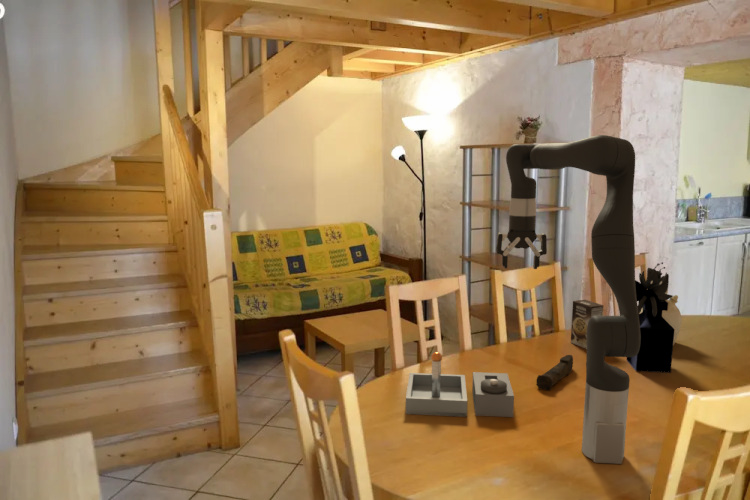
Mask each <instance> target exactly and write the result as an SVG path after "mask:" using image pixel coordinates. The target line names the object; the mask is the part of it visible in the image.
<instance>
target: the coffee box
mask: <svg viewBox="0 0 750 500" xmlns="http://www.w3.org/2000/svg"><path fill="white" fill-rule="evenodd" d="M571 315H572V316H571V329H570V330H571V333H570V343H571V344H573V345H576V346H578V347H581V348H583V349H586V350H587V325H588V321H589V319H590V318H591V317H592V316H596V315H603V316H604V305H603V304H601V303H597V302H594V301H591V300H587V299H579V300H578V299H576V300H572V314H571Z"/></svg>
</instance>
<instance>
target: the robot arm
mask: <svg viewBox="0 0 750 500" xmlns="http://www.w3.org/2000/svg"><path fill="white" fill-rule="evenodd" d="M505 155H506V156H505V161H506V166H507V170H508V175H509V180H510V184H511V186H510V203H509V210H508V213H509V215H508V216H509V217H508V232H507V233H501V232H498V233H497V238H496V249H495V251H496V254H499V255H501V265H502V267H503V268H504V269H508V262H509V261H508V260H509V259H508V254H509V253H510V252H511V251H512V250H513V249H514V248H515V249H529V248H530V250H531V251H532V252H533V254H534V255H533V270H537V269H538V268H539V267H540V261H541V260H540V258H541V256H543V255H544V256H545V255H547V253H548V251H547V250H548V248H547V242H548V241H547V235H546V233H539V234H538V233H537V232H536V224H537V222H536V221H537V219H536V218H537V199H536V197H537V181H536V179H535V178H533V177H529V176H527V175H526V173H525V170H536V169H540V170H550V171H551V170H557V171H558V170H562V169H566V168H575V169H578V170H582V171H584V172H589V173H591V174H594V175H598V176H604V177H605V179H606V195H605V197H606V198H605V201H604V203H603V204H604V205H603V206H602V208H601V210H600V211H599V213H598V215H597V217H596V219H595V220H594V224H593V225H592V228H591V233H590V235H591V236H590V238H591V258H592V261H593V264H594V266H595V267H596V269H597V270H598V272H599V273H600V275H601V277H602V278H603V279H604V281H605V282H606V283H607V284H608V286H609V287H610V289H611V290H612V293H613V295H614V297H615V300H616V302H617V306H618V307H617V308H618V313H619V315H604V314H603V315H596V316H592V317H591V318H590V319H589V321H588V325H587V349H586V362H585V363H586V366H585V367H586V369H585V370H586V371H585V372H586V373H585V374H586V375H585V389H584V390H585V391H584V392H585V393H584V404H583V421H582V437H581V438H582V440H581V453H582V454H583V455H584V456H585V457H587V458H589V459H590V460H592V462H593V463H598V464H599V463H601V464H618V465H622V464H623V460H624V458H625V446H626V432H627V431H626V430H627V418H628V406H629V405H628V403H629V389H630V375H629V374H628V373H627V371H625V370H623V369H621V368H620V367H617V366H615V365H611V364H609V363H608V362H606V361H605V357H609V358H610V357H611V358H615V357H616V358H627V357H634V356H636V355H637V354H638V352H639V349H640V343H641V333H640V323H639V314H638V301H637V298H636V287H635V280H636V259H635V258H636V254H635V253H636V252H635V251H636V250H635V248H636V247H635V229H634V228H635V227H634V185H635V184H634V183H635V172H636V171H635V170H636V151H635V148H634V146H633V144H632V143H631V142H630V141H629V140H627V139H624V138H620V137H615V136H611V135H606V134H605V135H604V134H599V135H594V136H593V135H592V136H589V137H587V138H583V139H580V140H575V141H570V142H545V143H540V144H538V143H537V144H536V143H534V144H533V143H530V144H529V143H516V144H515V143H514V144H512V145H510V147H509V148H508V150H507V151H506V154H505ZM506 238H507V240H508V241H509V243H508V244H507V245H506V246H505V248H504V249H502V244H503V242H504V241H505V240H506ZM536 239H538V241H539V242H540V250H538V249H537V248H536V246H535V245H534V242H535V241H536Z"/></svg>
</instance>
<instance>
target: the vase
mask: <svg viewBox="0 0 750 500" xmlns="http://www.w3.org/2000/svg"><path fill="white" fill-rule="evenodd" d="M663 264H664V262H660V263H657V264H656V265H655V266H654V268H651V267H647V271H646V275H645V270H642V272H639V273H638V274H639V275H638V278H639V281H638V280H636V279H635V287H636V298H637V306H638V314H639V313H640V312H641V309H642V308H643V312H642V313H640V314H639V323H640V333H641V343H640V349H639V352H638V354H637V355H636V356H634V357H626V362H628V364H629V365H630V366H631V367H632V368H633V370H634V371H635V372H646V373H647V372H649V373H672V365H673V364H672V363H673V362H672V360H673V351H674V345H673V341H674V328H673V327H672V326H671V325H670V324H669V323H668V322H667V321H666V320H665V319H664V318H663V317H662V310H664V311H668V302H666V301H665V300H670V298H671V297H673V296H674V295H672V294H668V293H667V294H665V293H666V291H667V289H668V290H669V282H670V281H669V280H670V279H669V278H670V275H669V273H668V272H665V274H664V275H663V273H662V271H661V270H662V269H664V270H665V269H666V267H665V266H663V267H662V268H660V269H659V270H656V268H657V267H658V266H660V265H663ZM645 276H646V278H645ZM661 277H662V278H661Z"/></svg>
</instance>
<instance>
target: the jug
mask: <svg viewBox="0 0 750 500" xmlns="http://www.w3.org/2000/svg"><path fill="white" fill-rule="evenodd" d="M661 278H662V276H661ZM668 291H669V288H668V289H667V291H666V293H665V294H668V293H669V292H668ZM672 296H673V297H671V298H669V299H668V300H665V301H666V302H668V311H664V310H662V317H663V318H664V319H665V320H666V321H667V322H668V323H669V324H670V325H671V326H672V327H673V328H674V341H673V346H675V344H676V341H677V338H678V335H679V333H680V329H681V326H682V315H681V312H680V309H679V308H678V306H677V305H676V304H677V303H678V302H679V301H678V299H679V296H678V295H676V294H675V295H672ZM642 312H643V308H642V309H641V312H640V313H642ZM640 313H639V314H640Z"/></svg>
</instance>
